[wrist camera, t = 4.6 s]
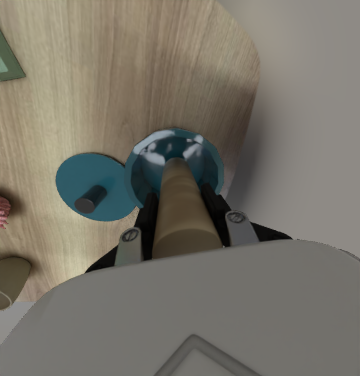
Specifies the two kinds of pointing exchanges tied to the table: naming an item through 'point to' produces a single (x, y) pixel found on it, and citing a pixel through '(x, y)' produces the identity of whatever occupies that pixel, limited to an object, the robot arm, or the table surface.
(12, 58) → the tray
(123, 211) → the pot lid
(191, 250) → the stick
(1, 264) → the bowl
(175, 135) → the pot
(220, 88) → the table surface
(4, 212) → the flower
